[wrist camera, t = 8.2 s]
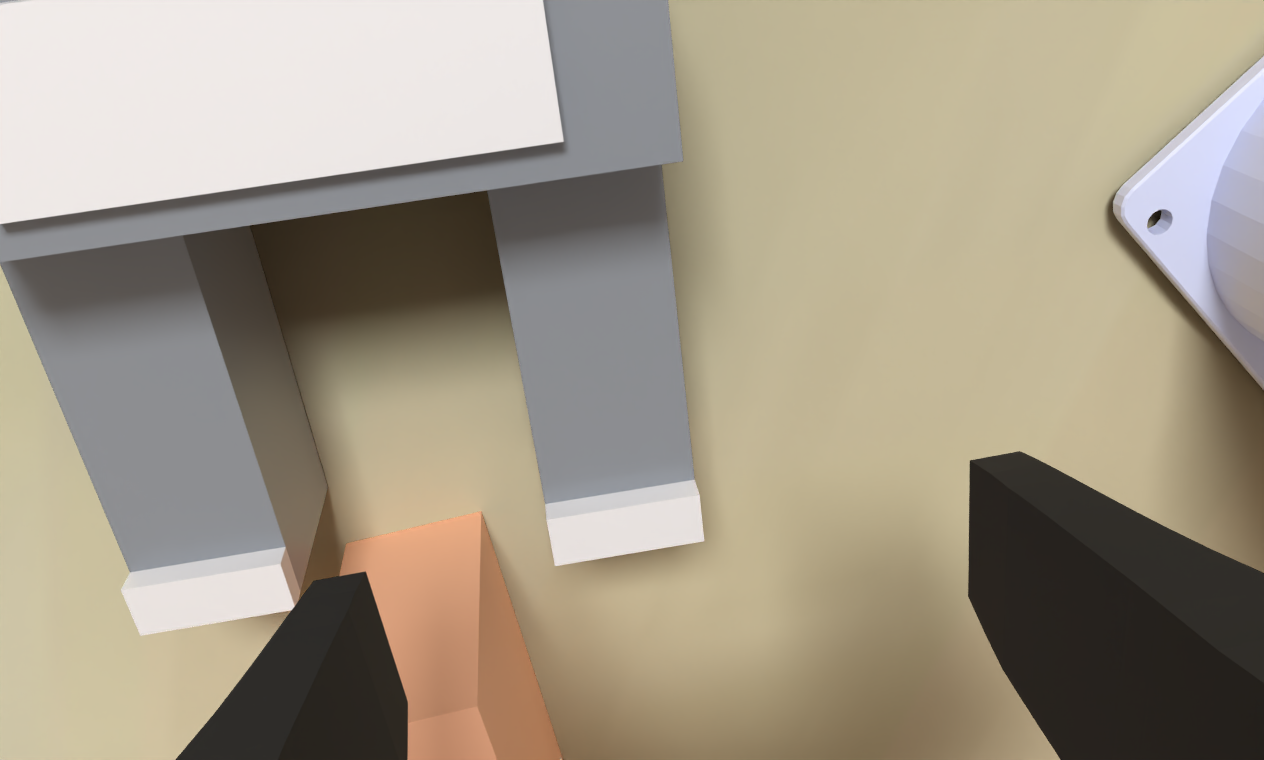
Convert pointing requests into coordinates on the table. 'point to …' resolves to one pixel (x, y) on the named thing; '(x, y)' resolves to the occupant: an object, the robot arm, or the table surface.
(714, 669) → the table surface
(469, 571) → the salmon long block
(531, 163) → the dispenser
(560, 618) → the table surface
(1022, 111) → the table surface
